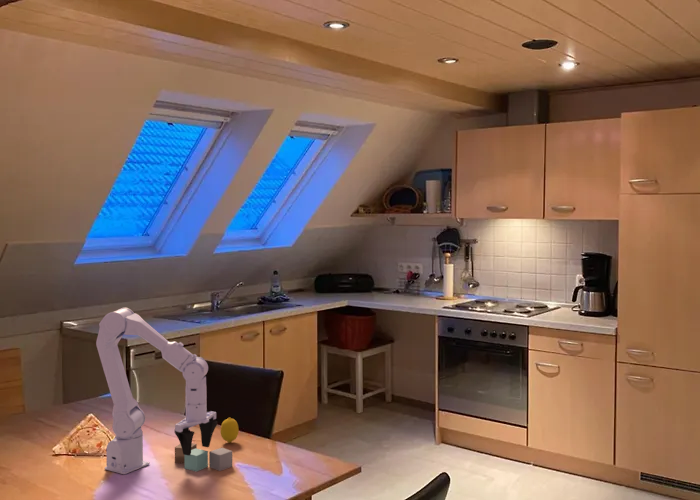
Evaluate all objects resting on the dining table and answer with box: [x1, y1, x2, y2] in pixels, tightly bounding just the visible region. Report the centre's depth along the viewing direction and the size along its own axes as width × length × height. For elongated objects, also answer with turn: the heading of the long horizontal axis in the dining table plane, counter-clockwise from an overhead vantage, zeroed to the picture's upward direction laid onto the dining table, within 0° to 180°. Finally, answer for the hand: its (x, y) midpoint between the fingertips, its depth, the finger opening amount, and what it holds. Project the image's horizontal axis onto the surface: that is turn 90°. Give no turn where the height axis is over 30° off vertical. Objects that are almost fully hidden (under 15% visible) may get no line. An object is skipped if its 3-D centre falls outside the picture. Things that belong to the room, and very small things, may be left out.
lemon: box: [220, 417, 240, 444], centre depth 215 cm, size 6×6×8 cm
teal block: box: [184, 448, 209, 472], centre depth 194 cm, size 4×4×4 cm
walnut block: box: [174, 442, 198, 465], centre depth 199 cm, size 4×4×4 cm
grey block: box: [208, 447, 233, 472], centre depth 195 cm, size 4×4×4 cm
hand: (196, 450), depth 194 cm, fingers open, 7 cm apart
